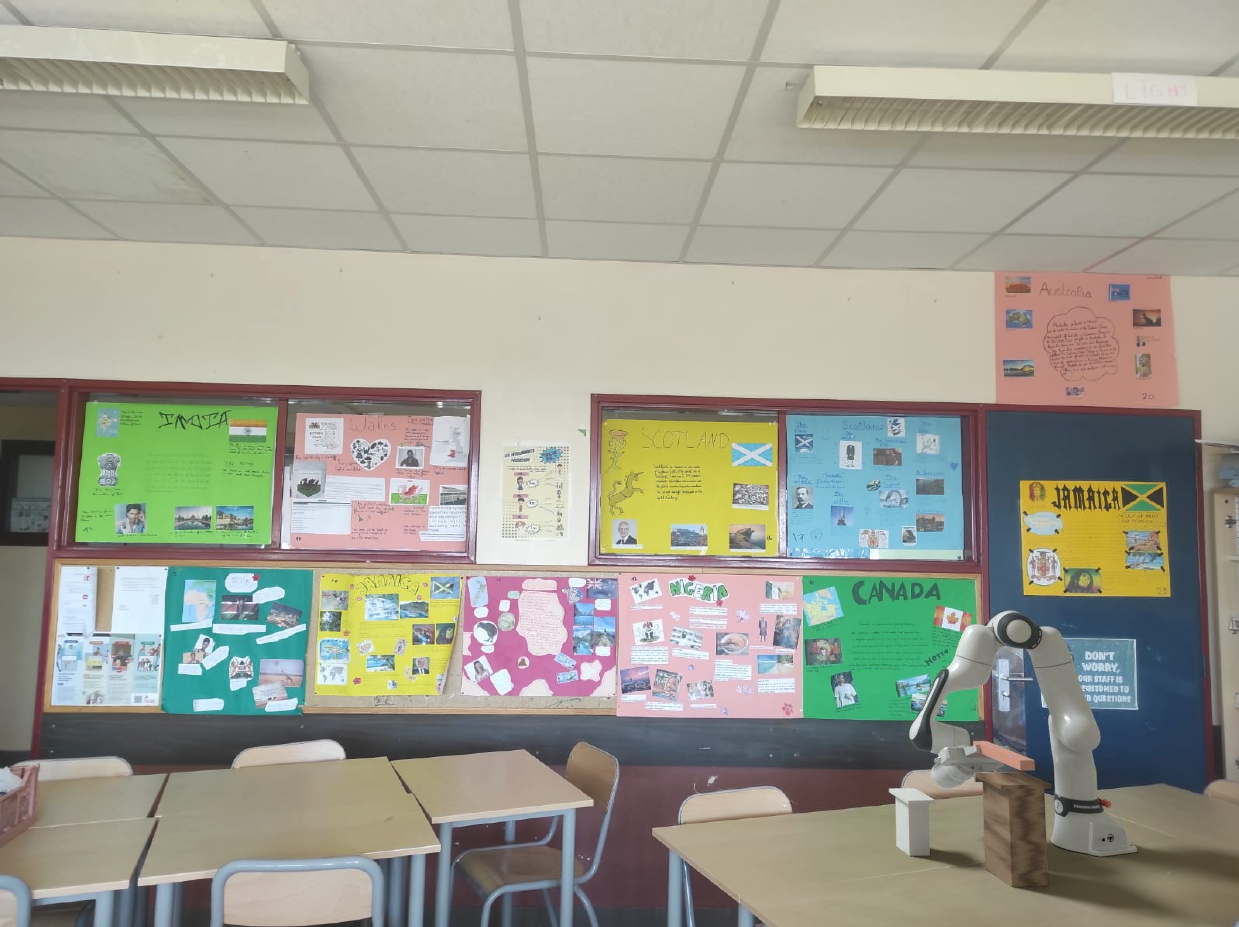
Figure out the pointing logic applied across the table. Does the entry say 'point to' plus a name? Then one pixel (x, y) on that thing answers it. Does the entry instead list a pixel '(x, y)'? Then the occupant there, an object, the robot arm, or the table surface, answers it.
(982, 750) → the salmon pink flat bar
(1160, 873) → the table surface
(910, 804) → the stand
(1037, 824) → the brown pedestal
